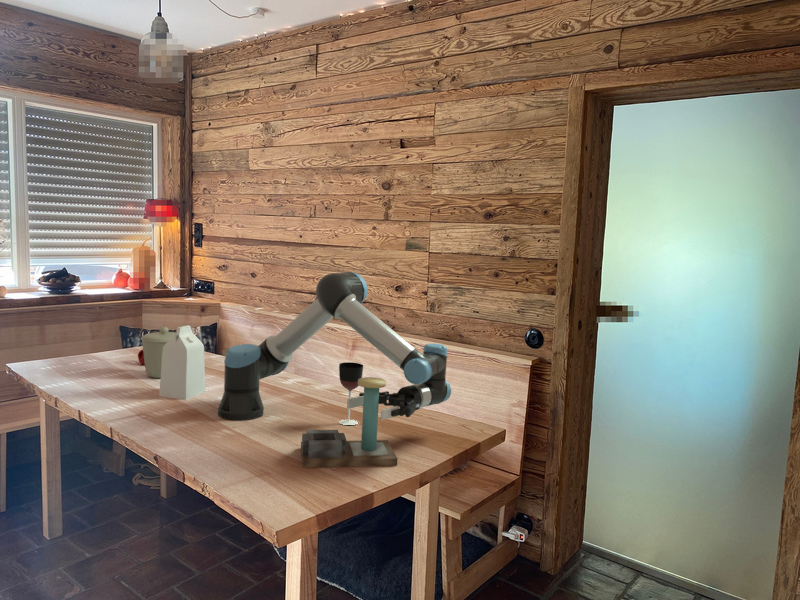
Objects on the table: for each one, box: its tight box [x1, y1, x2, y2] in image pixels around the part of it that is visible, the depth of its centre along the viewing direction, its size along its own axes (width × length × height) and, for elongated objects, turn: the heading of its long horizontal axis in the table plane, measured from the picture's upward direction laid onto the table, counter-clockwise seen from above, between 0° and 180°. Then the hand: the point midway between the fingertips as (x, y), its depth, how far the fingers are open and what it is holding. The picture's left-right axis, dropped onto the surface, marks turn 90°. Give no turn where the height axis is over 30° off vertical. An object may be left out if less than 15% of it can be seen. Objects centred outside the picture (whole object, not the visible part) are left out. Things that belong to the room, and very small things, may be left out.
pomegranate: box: [137, 349, 145, 366], centre depth 267 cm, size 10×10×9 cm
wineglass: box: [338, 361, 364, 425], centre depth 198 cm, size 8×9×20 cm
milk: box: [158, 324, 206, 401], centre depth 221 cm, size 12×12×26 cm
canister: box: [140, 326, 176, 379], centre depth 247 cm, size 18×18×21 cm
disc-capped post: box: [358, 376, 387, 451], centre depth 168 cm, size 8×8×20 cm
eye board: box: [300, 429, 399, 469], centre depth 167 cm, size 26×15×6 cm, turn 102°
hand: (364, 409), depth 165 cm, fingers open, 13 cm apart
